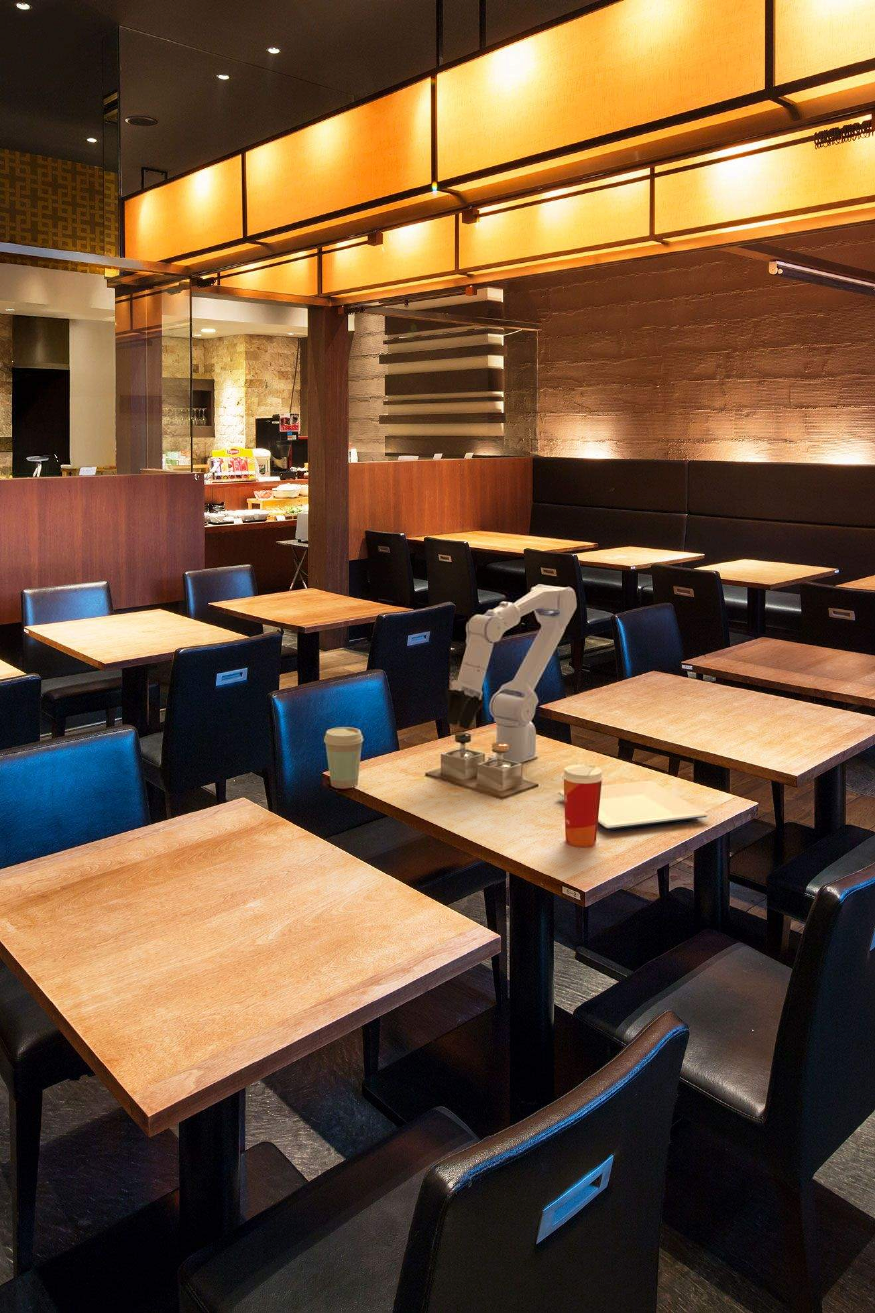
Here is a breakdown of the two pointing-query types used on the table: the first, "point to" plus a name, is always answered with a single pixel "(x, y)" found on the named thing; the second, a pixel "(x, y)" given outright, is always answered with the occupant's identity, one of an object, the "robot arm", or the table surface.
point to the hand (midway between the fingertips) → (457, 726)
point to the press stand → (482, 774)
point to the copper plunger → (500, 755)
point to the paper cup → (581, 804)
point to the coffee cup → (343, 756)
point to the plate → (641, 805)
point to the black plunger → (462, 745)
